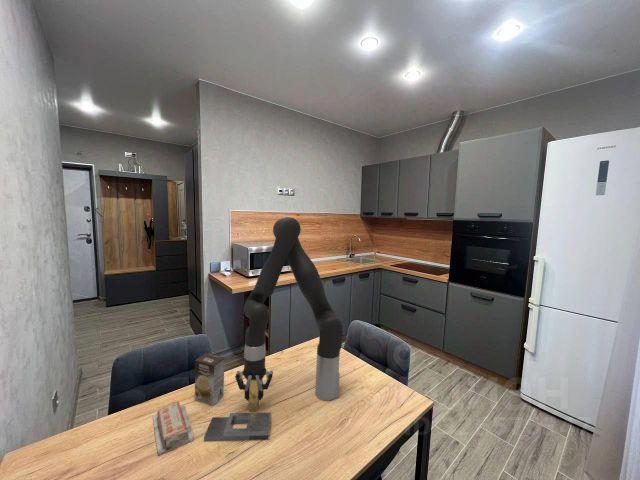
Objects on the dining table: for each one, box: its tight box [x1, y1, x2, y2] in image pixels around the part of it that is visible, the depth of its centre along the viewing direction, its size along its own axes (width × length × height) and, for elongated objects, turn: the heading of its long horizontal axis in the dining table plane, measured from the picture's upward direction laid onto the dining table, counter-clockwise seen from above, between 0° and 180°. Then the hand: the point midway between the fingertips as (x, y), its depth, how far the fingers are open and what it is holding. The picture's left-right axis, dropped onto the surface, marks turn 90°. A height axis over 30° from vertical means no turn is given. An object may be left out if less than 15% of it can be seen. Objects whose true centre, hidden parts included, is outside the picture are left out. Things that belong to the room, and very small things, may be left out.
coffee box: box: [194, 352, 225, 407], centre depth 101 cm, size 9×6×16 cm
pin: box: [247, 379, 261, 413], centre depth 97 cm, size 4×4×12 cm
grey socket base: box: [203, 412, 272, 442], centre depth 87 cm, size 20×8×3 cm, turn 94°
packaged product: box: [152, 401, 195, 456], centre depth 86 cm, size 18×5×10 cm
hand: (253, 398), depth 97 cm, fingers closed on pin, 4 cm apart
